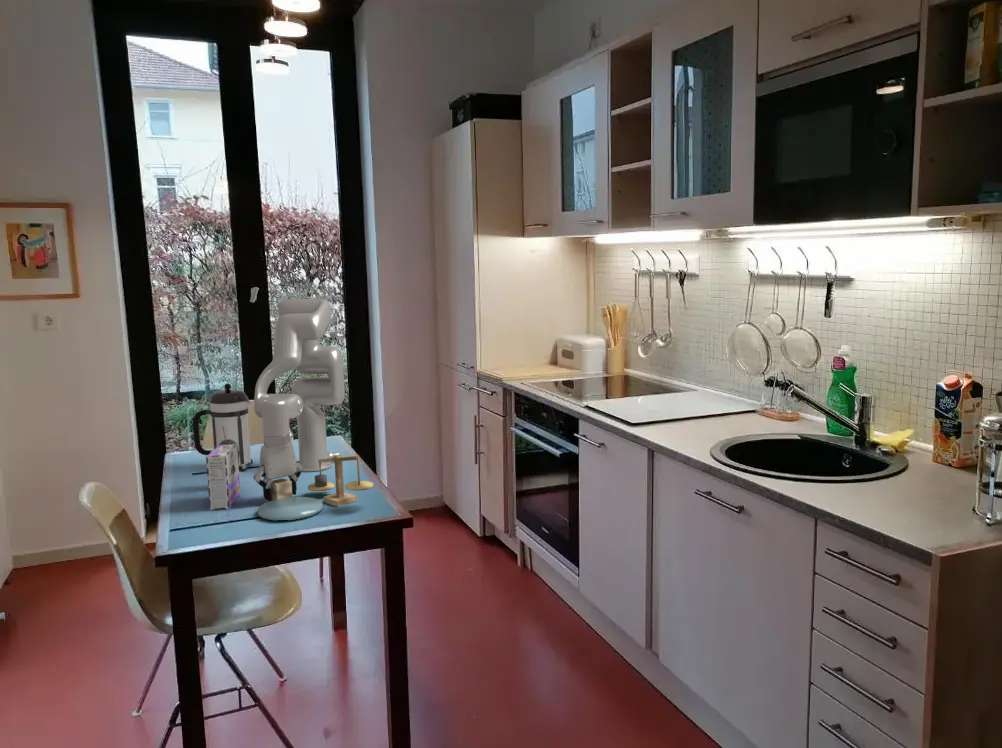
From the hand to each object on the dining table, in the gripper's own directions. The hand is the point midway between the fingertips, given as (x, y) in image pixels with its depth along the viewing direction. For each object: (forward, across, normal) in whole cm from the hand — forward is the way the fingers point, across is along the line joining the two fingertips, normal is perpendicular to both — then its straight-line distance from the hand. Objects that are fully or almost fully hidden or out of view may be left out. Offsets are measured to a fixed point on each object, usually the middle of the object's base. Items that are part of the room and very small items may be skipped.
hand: (280, 496), depth 234 cm
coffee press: (+1, -8, -47) cm, 48 cm away
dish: (+1, +4, +12) cm, 13 cm away
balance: (+1, -11, +15) cm, 19 cm away
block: (+1, 0, 0) cm, 1 cm away
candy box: (+1, +12, -11) cm, 16 cm away
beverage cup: (+1, +3, -25) cm, 25 cm away
